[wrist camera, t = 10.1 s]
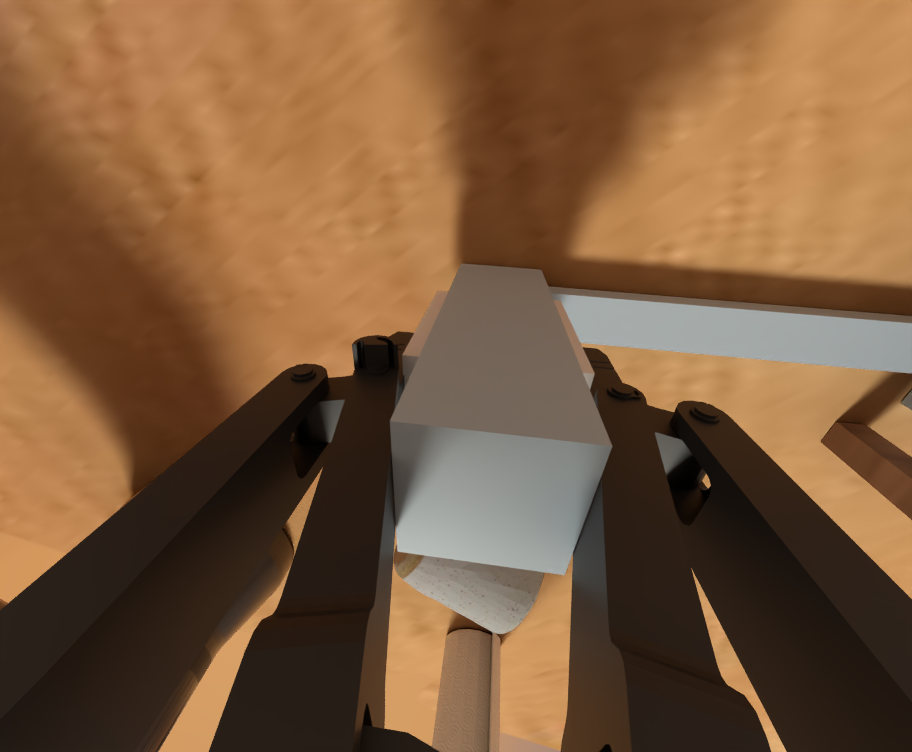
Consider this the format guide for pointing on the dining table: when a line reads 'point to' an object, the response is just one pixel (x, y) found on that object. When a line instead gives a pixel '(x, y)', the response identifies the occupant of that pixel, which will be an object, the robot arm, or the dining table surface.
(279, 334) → the dining table surface
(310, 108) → the dining table surface
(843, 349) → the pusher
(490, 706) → the paper towel roll
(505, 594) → the ceramic mug
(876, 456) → the walnut table
